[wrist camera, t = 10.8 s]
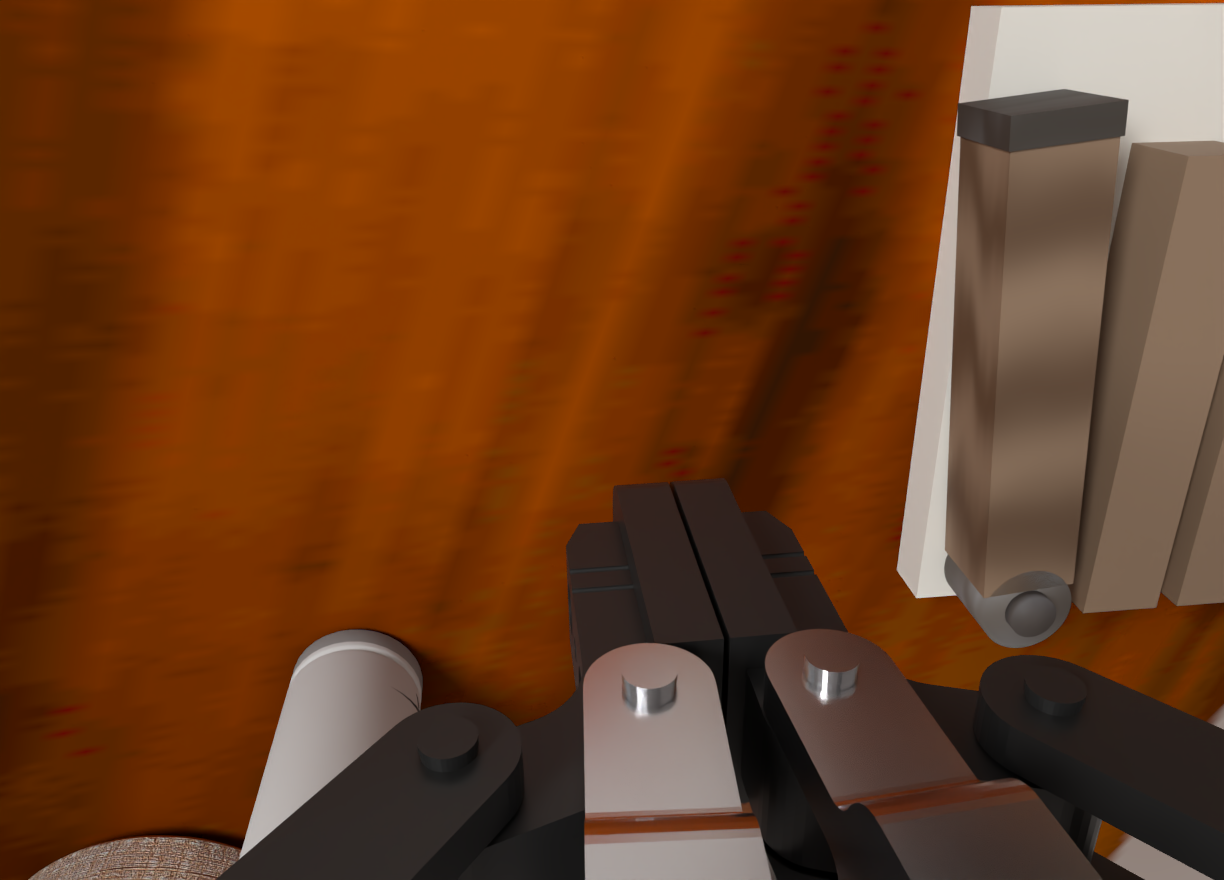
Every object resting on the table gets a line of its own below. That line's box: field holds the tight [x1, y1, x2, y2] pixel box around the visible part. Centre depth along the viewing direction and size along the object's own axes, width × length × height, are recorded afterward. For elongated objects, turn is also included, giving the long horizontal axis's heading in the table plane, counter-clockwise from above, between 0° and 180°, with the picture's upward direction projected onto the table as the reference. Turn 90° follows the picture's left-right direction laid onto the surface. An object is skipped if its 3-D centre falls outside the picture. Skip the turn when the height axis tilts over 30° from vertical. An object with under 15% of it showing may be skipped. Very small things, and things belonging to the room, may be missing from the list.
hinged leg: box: [944, 89, 1129, 648], centre depth 40 cm, size 23×4×5 cm, turn 7°
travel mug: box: [239, 630, 423, 859], centre depth 39 cm, size 6×7×20 cm
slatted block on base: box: [897, 3, 1224, 613], centre depth 42 cm, size 26×19×6 cm
